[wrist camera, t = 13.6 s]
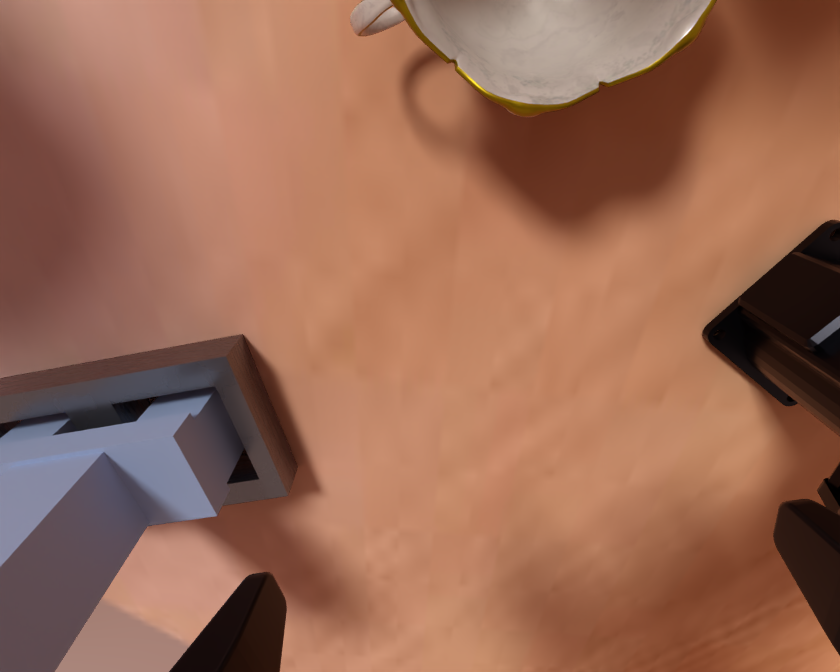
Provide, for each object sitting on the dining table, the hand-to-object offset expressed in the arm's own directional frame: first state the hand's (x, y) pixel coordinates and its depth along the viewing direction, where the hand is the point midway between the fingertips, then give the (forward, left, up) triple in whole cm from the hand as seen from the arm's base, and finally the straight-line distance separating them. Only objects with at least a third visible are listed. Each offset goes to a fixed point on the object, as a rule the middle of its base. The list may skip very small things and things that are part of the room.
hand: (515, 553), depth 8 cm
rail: (+8, +15, -13) cm, 22 cm away
